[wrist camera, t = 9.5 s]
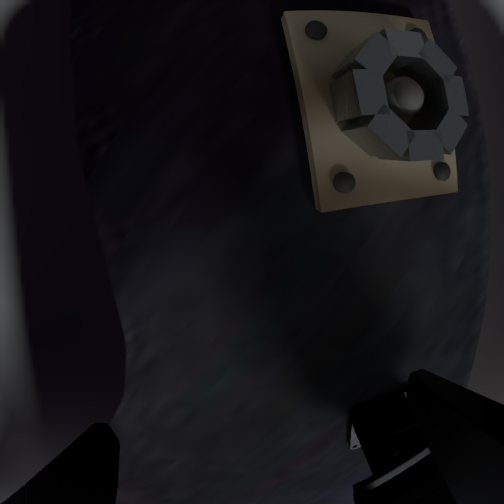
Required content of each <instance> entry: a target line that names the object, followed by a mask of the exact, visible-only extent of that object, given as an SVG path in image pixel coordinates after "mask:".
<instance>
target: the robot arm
mask: <svg viewBox="0 0 504 504" xmlns="http://www.w3.org/2000/svg"><path fill="white" fill-rule="evenodd" d="M349 446H350V449H357V448H360V447H362V450H363V452H364V455H365V457H366V459H367V462H368V464H369V467H370V469H371V472H372V474H373V475H372V476H370V477H369V478H367V479H365V480H363V481H361V482H358V483H356V484H354V485H353V490H354V493H353V495H354V503H355V504H504V405H503V404H501V403H498V402H496V401H494V400H492V399H489V398H487V397H484V396H482V395H480V394H477V393H475V392H473V391H471V390H469V389H466V388H464V387H462V386H460V385H457V384H455V383H453V382H451V381H448V380H446V379H444V378H442V377H440V376H437V375H435V374H433V373H431V372H429V371H426V370H424V369H421V370H418V371H415V372H412V373H411V374H410V376H409V381H408V387H407V389H404V390H401V391H398V392H395V393H392V394H389V395H386V396H383V397H380V398H377V399H374V400H371V401H368V402H364V403H361V404H358V405H355V406H353V407H352V409H351V422H350V439H349ZM119 452H120V443H119V440H118V438H117V437H116V435H115V434H114V432H113V431H112V429H111V427H110V426H109V425H108V424H107V423H94V424H93V425H92V426H90V427H89V428H88V429H87V430H86V431H85V432H84V433H83V434H82V435H80V436H79V437H78V438H77V439H76V440H75V441H74V442H72V443H71V444H70V445H69V446H68V447H67V448H66V449H65V450H63V452H61V453H60V454H59V455H58V456H57V457H56V458H54V459H53V460H52V461H51V462H50V463H49V464H48V465H46V466H45V467H44V468H43V469H42V470H41V471H40V472H38V473H37V474H36V475H35V476H34V477H33V478H32V479H30V480H29V481H28V482H27V483H26V484H25V486H22V487H21V488H20V489H19V490H18V491H16V492H15V493H14V494H13V495H11V496H10V497H9V498H8V499H6V500H5V501H4V502H2V503H1V504H115V502H116V495H117V488H118V471H119Z"/></svg>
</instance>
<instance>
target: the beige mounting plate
mask: <svg viewBox="0 0 504 504" xmlns="http://www.w3.org/2000/svg"><path fill="white" fill-rule="evenodd" d="M281 21H282V25H283V29H284V34H285V38H286V42H287V47H288V51H289V56H290V61H291V65H292V70H293V75H294V80H295V85H296V90H297V95H298V100H299V106H300V111H301V117H302V122H303V128H304V134H305V140H306V146H307V152H308V159H309V165H310V172H311V179H312V186H313V193H314V200H315V208H316V210H318V211H319V212H321V213H322V212H328V211H334V210H340V209H346V208H353V207H359V206H365V205H371V204H378V203H384V202H391V201H398V200H404V199H411V198H418V197H425V196H432V195H439V194H446V193H453V192H458V187H457V170H456V157H455V149H454V150H453V152H452V154H451V155H450V154H444V159H439V160H425V161H412V162H409V161H396V160H382V159H378V157H375V156H369V155H368V154H367V153H365V152H364V151H363V150H362V149H361V148H360V147H359V146H357V145H356V144H355V143H354V142H353V141H352V140H350V139H349V138H348V137H347V136H346V135H345V134H343V133H342V132H341V131H342V129H343V128H344V126H345V125H346V124H347V122H336V121H335V115H334V110H333V104H332V99H331V93H330V88H329V85H330V84H331V83H332V82H334V81H335V79H334V78H333V77H331V75H332V74H333V73H334V71H335V70H336V69H337V68H338V66H339V65H340V64H341V63H342V61H343V60H344V59H345V58H346V56H347V55H348V54H349V53H350V51H352V50H353V49H354V48H355V47H357V46H358V45H359V44H360V43H362V42H363V41H364V40H366V39H367V38H368V37H370V36H371V35H372V34H373V33H375V32H376V31H377V32H378V33H379V32H380V31H382V30H383V29H384V28H389V29H397V30H405V31H412V32H419V33H421V36H422V39H423V41H424V40H426V39H428V38H430V39H431V40H432V41H433V42H434V39H433V35H432V32H431V29H430V25H429V22H428V21H425V20H420V19H414V18H408V17H402V16H394V15H386V14H377V13H367V12H353V11H325V10H309V11H284V13H283V16H282V18H281ZM434 43H435V42H434ZM383 80H384V84H385V90H386V95H387V100H388V106H389V108H390V109H391V110H392V111H393V112H394V113H395V114H396V115H397V116H398V117H399V118H400V119H401V120H402V121H403V122H404V123H405V124H406V125H407V124H408V122H409V121H410V119H411V118H412V116H413V115H414V113H416V112H418V111H419V110H420V109H421V107H422V105H423V101H424V93H423V90H422V88H421V87H420V85H419V84H418V83H417V82H416V81H414V80H413V79H411V78H409V77H405V76H404V77H399V78H397V77H396V76H395V75H394V74H393V73H392V72H385V73H384V75H383Z"/></svg>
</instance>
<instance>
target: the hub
mask: <svg viewBox="0 0 504 504" xmlns="http://www.w3.org/2000/svg"><path fill="white" fill-rule="evenodd" d="M456 69H457V67H456V66H455V64H454V63H453V62H452V61H451V60H450V59H449V58H448V57H447V56H446V54H445V53H444V52H443V51H442V50H441V49H440V48H439V47H438V46H437V45H436V44H435V43H434V42H433V41H432V40H431V39H430V38H428V39H426V40H424V41H423V39H422V36H421V33H419V32H412V31H405V30H397V29H389V28H384V29H383V30H382V31H380V32H379V33H378V32H377V31H376V32H375V33H373V34H372V35H371V36H370V37H368V38H367V39H366V40H364V41H363V42H362V43H360V44H359V45H358V46H357V47H355V48H354V49H353V50H352V51H350V53H349V54H348V55H347V56H346V58H345V59H344V60H343V61H342V63H341V64H340V65H339V66H338V68H337V69H336V70H335V71H334V73H333V74H332V75H331V77H333V78H334V79H335V81H334V82H332V83H331V84H330V85H329V88H330V93H331V99H332V104H333V110H334V115H335V121H336V122H347V124H346V125H345V126H344V128H343V129H342V131H341V132H342V133H343V134H345V135H346V136H347V137H348V138H349V139H350V140H352V141H353V142H354V143H355V144H356V145H357V146H359V147H360V148H361V149H362V150H363V151H364V152H365V153H367V154H368V155H369V156H375V157H378V159H382V160H396V161H409V162H412V161H425V160H439V159H444V154H450V155H451V154H452V152H453V150H454V149H455V147H456V145H457V144H458V142H459V140H460V138H461V137H462V135H463V133H464V131H465V129H466V128H467V126H468V125H467V124H466V122H465V121H464V120H463V119H462V117H461V116H469V112H468V106H467V100H466V95H465V89H464V84H463V80H462V77H459V76H453V74H454V72H455V70H456ZM385 72H392V73H393V74H394V75H395V76H396V77H397V78H399V77H404V76H405V77H409V78H411V79H413V80H414V81H416V82H417V83H418V84H419V85H420V87H421V88H422V90H423V93H424V101H423V105H422V107H421V109H420V110H419V111H418V112H416V113H414V115H413V116H412V118H411V119H410V121H409V122H408V124H407V125H406V124H405V123H404V122H403V121H402V120H401V119H400V118H399V117H398V116H397V115H396V114H395V113H394V112H393V111H392V110H391V109H390V108H389V106H388V100H387V95H386V90H385V84H384V80H383V75H384V73H385Z"/></svg>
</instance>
